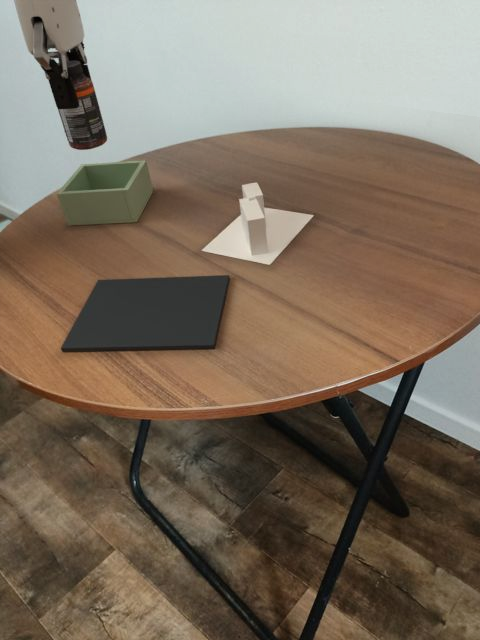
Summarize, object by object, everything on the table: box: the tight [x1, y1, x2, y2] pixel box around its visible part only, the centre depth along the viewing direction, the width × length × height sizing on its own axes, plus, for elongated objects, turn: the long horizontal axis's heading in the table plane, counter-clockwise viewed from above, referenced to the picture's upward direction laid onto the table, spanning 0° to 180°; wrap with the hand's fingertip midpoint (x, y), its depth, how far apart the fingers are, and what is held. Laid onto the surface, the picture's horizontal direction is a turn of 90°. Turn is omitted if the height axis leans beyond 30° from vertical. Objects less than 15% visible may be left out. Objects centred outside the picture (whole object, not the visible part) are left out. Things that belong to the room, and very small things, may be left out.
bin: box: [56, 160, 154, 227], centre depth 87 cm, size 12×12×6 cm
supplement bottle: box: [57, 61, 108, 151], centre depth 77 cm, size 6×6×11 cm
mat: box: [60, 274, 231, 353], centre depth 64 cm, size 18×14×1 cm
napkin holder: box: [200, 182, 315, 266], centre depth 75 cm, size 15×11×6 cm
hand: (76, 99), depth 77 cm, fingers closed on supplement bottle, 6 cm apart
